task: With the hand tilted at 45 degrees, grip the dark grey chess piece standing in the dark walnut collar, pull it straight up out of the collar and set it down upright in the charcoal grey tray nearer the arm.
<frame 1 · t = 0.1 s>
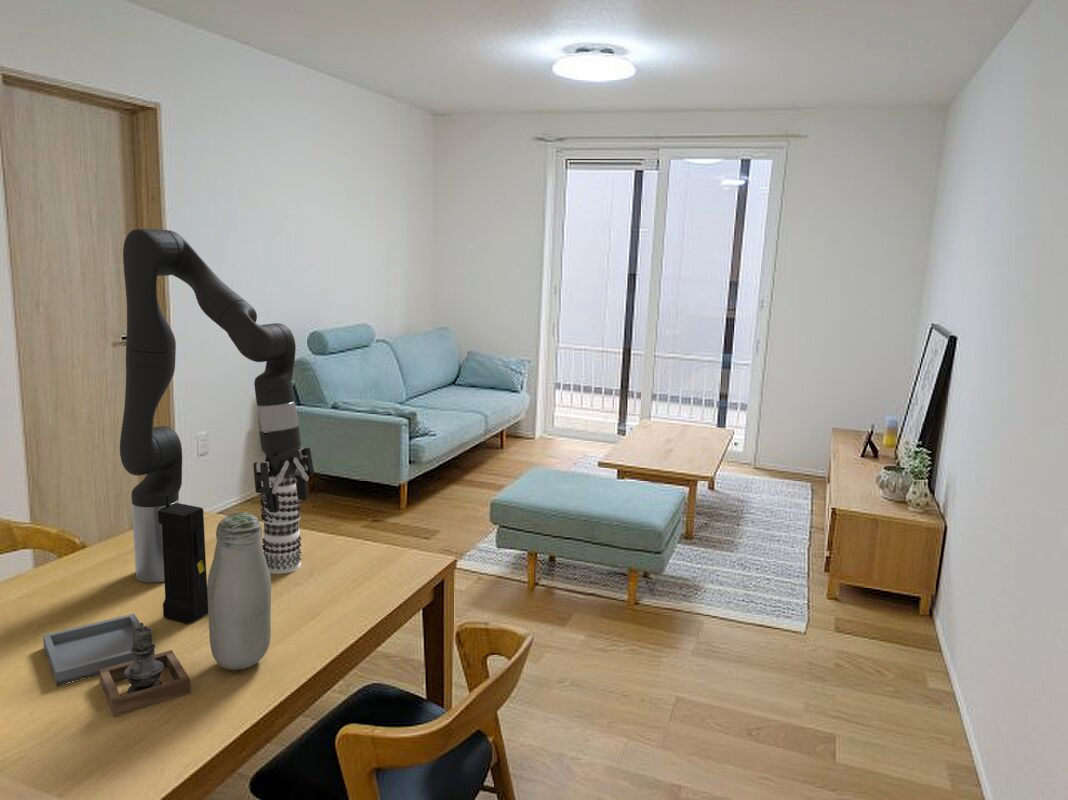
hand: (289, 505, 153), 23 cm above the table, tool pointing down, fingers open, 8 cm apart
grey tray: (99, 653, 138), on the table
decorative candle: (282, 567, 178), on the table
walnut collar: (145, 688, 129), on the table
dark grey chess piece: (145, 689, 129), resting in walnut collar
portable radio: (189, 616, 153), on the table
glass bottle: (241, 664, 137), on the table
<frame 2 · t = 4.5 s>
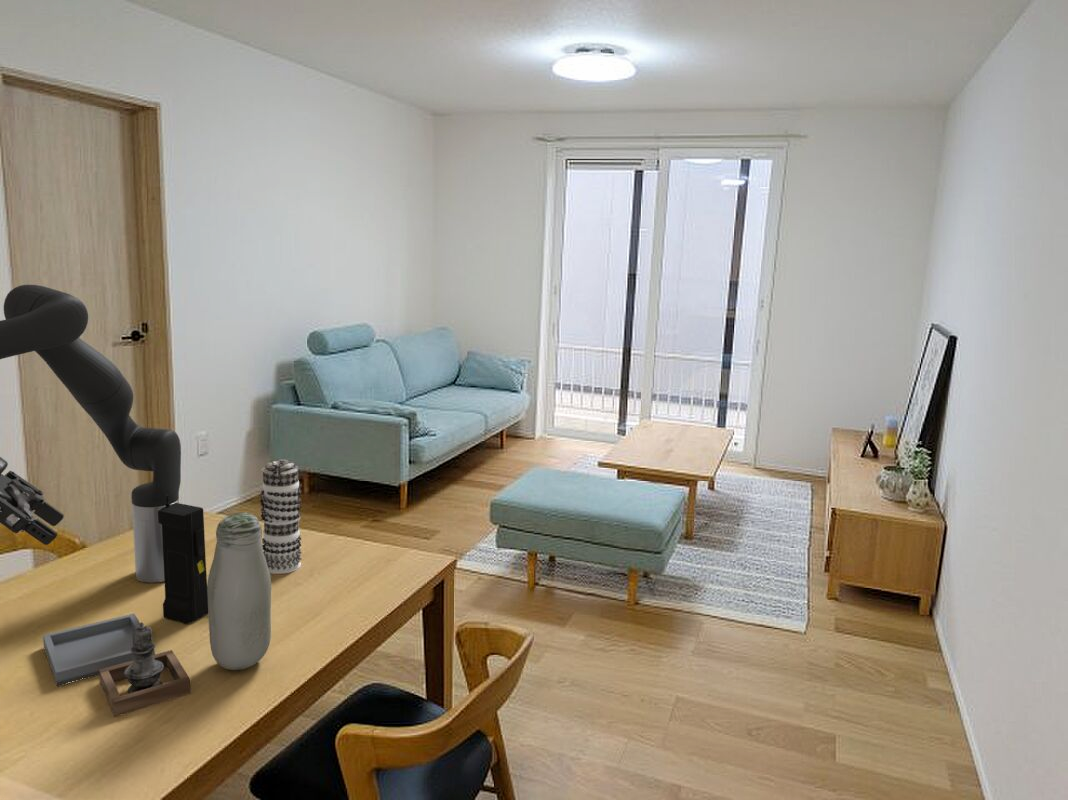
hand: (56, 530, 118), 29 cm above the table, tool tilted 45°, fingers open, 8 cm apart
nothing on the table moved.
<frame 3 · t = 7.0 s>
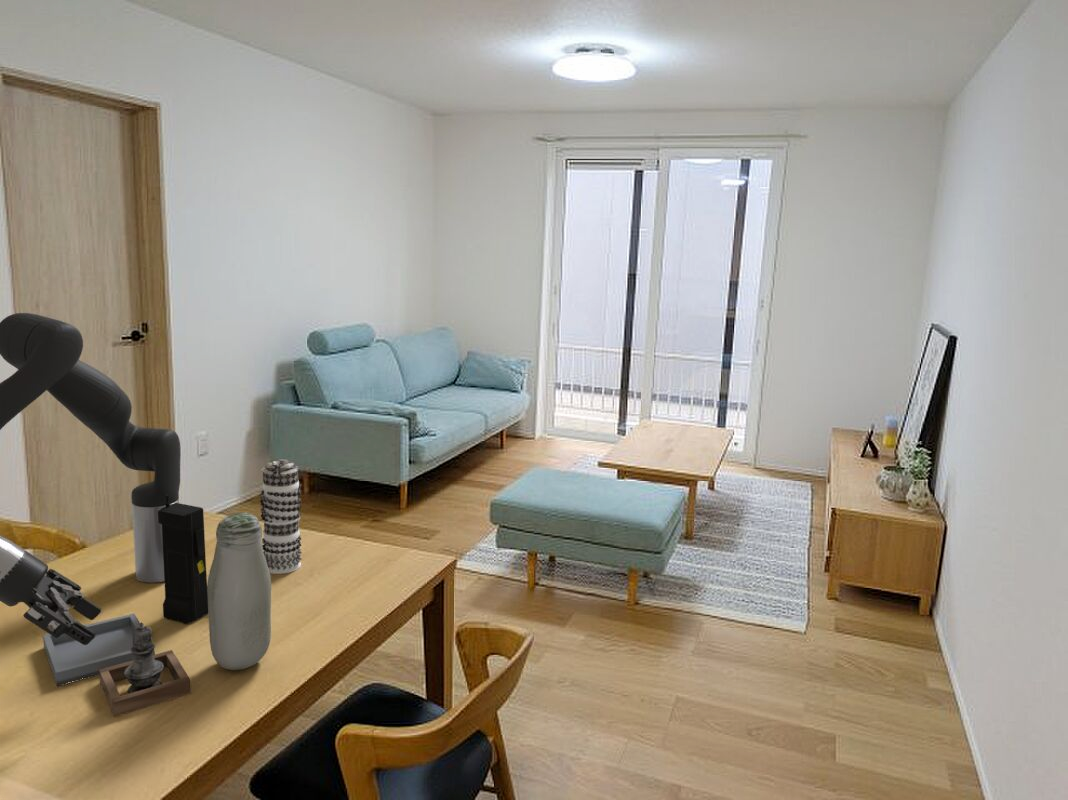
hand: (94, 627, 123), 12 cm above the table, tool tilted 45°, fingers open, 8 cm apart
nothing on the table moved.
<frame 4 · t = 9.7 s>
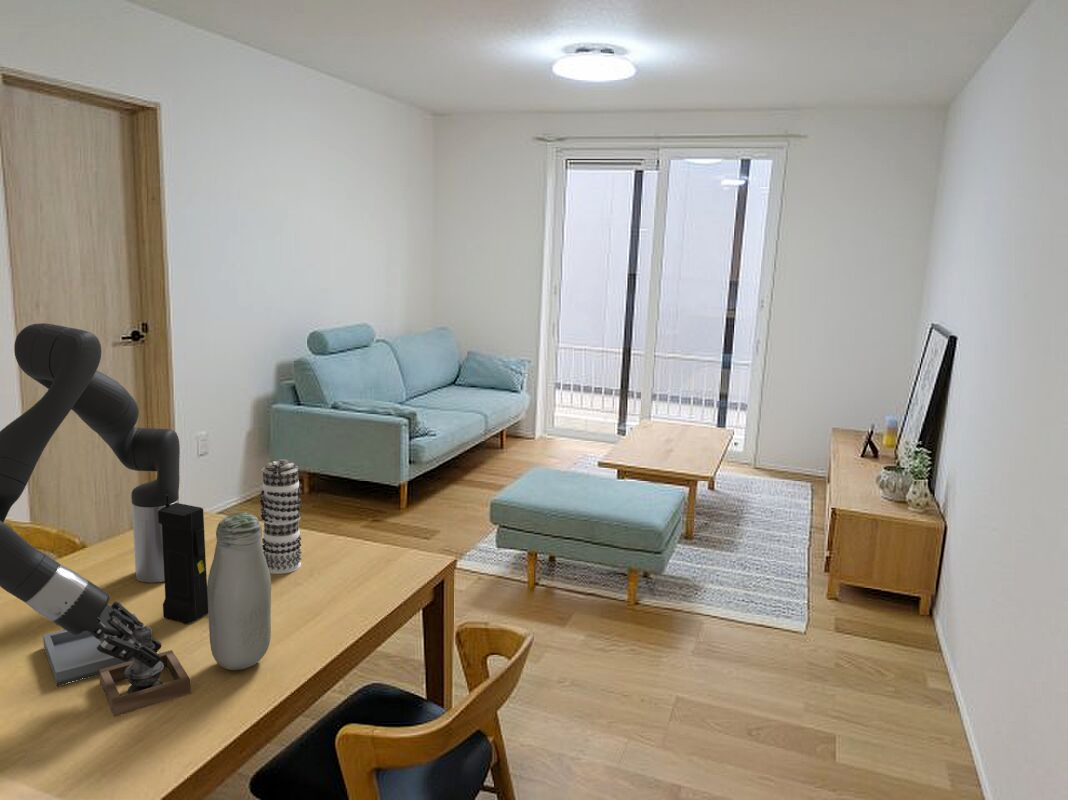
hand: (156, 655, 128), 6 cm above the table, tool tilted 45°, fingers closed on dark grey chess piece, 3 cm apart
dark grey chess piece: (145, 689, 129), resting in walnut collar, touching gripper
everything else where it was.
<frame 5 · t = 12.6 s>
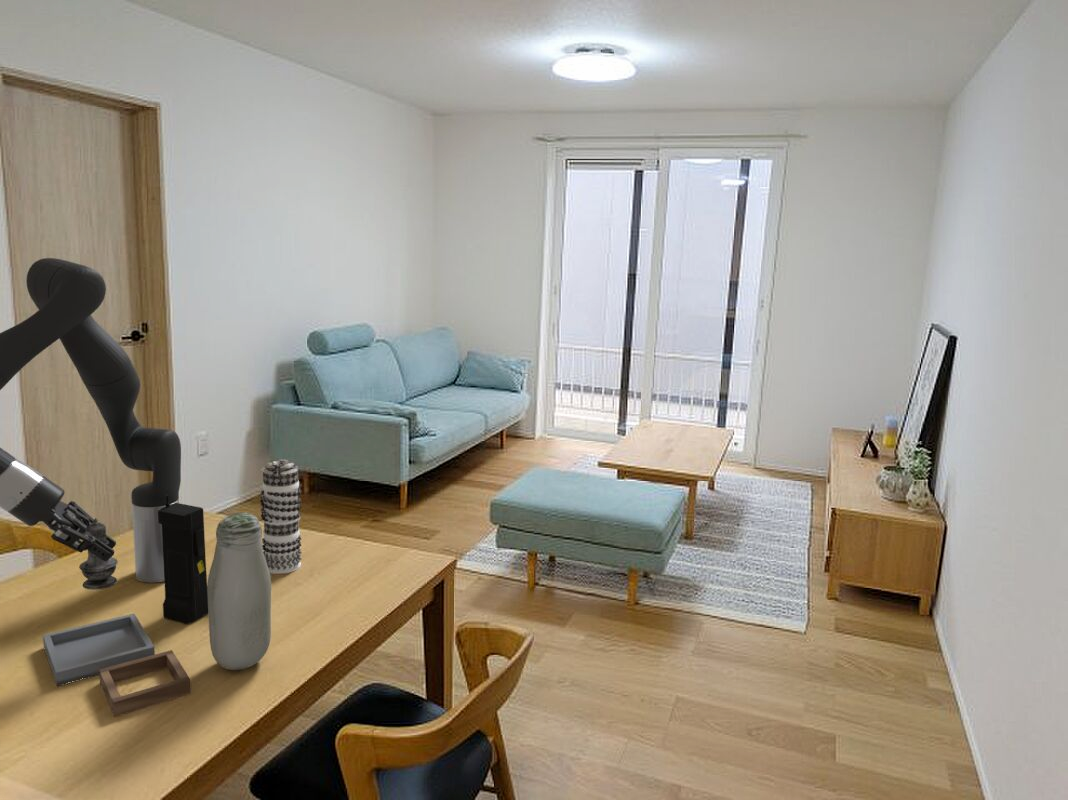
hand: (111, 551, 134), 20 cm above the table, tool tilted 45°, fingers closed on dark grey chess piece, 3 cm apart
dark grey chess piece: (100, 583, 135), point 14 cm above the table, touching gripper
everything else where it was.
when the fingers open (7 cm above the table, at t = 15.5 s): dark grey chess piece stays where it is, resting on grey tray.
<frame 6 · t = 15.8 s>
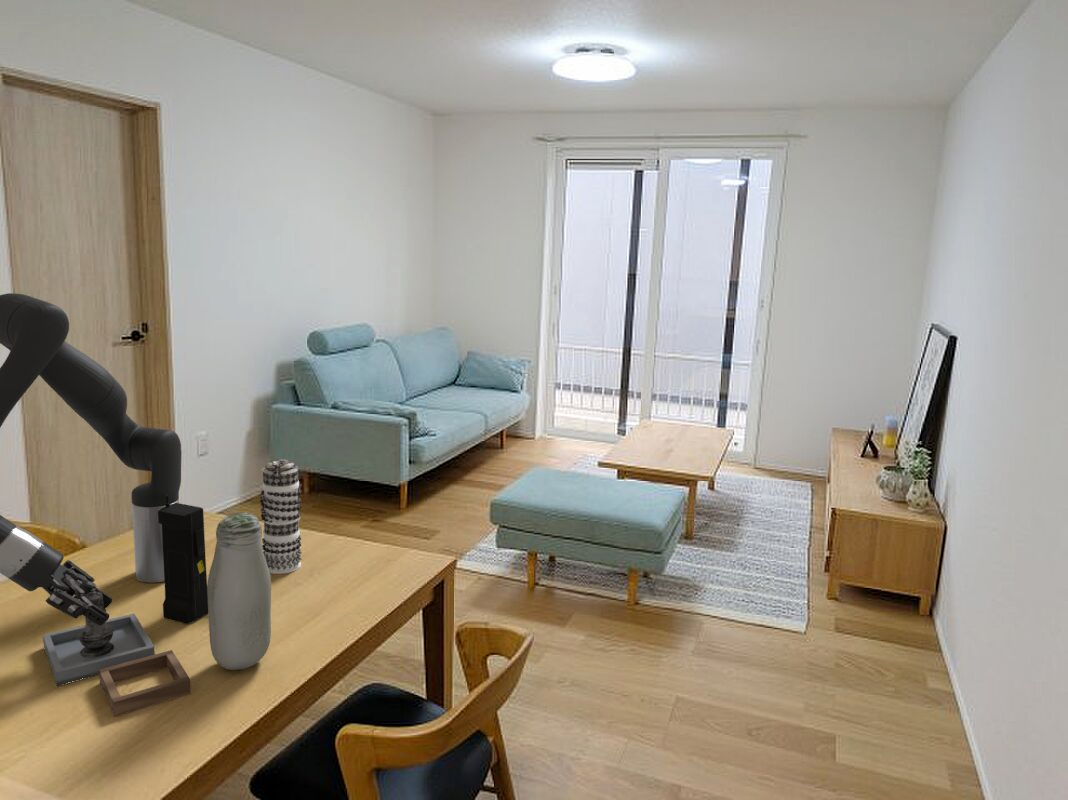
hand: (107, 612, 137), 8 cm above the table, tool tilted 45°, fingers open, 6 cm apart
dark grey chess piece: (97, 650, 138), point 1 cm above the table, touching grey tray
everything else where it was.
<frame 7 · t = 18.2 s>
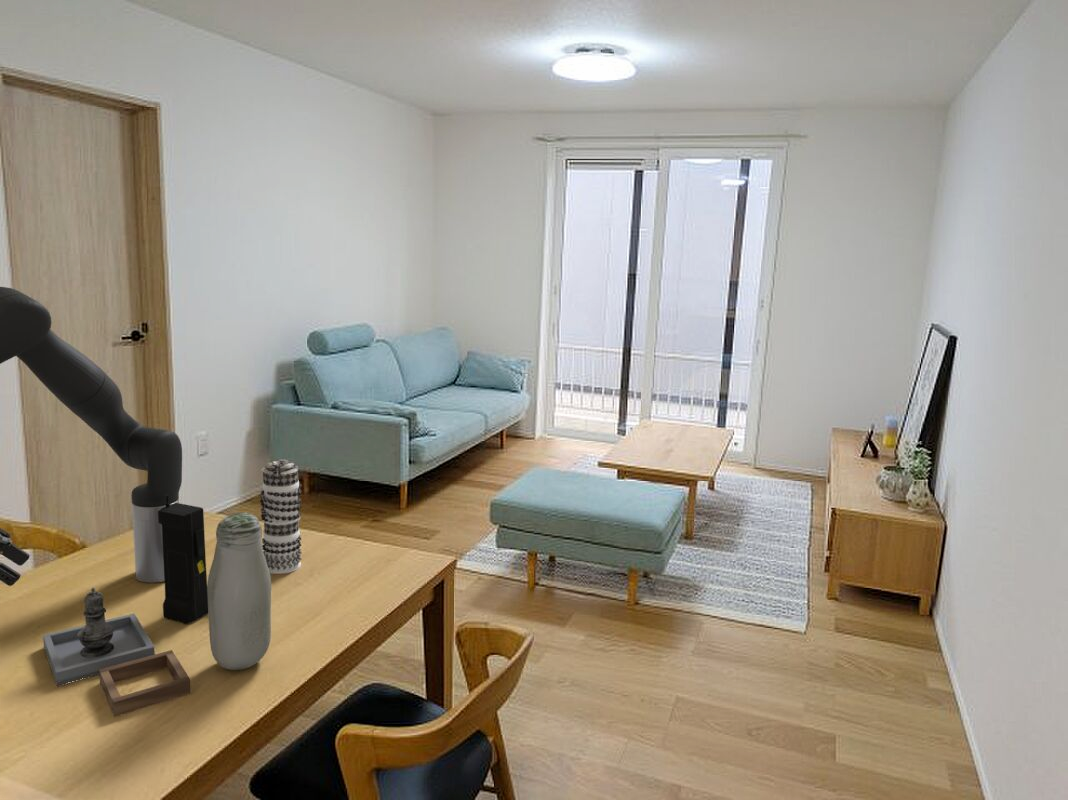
hand: (21, 570, 130), 17 cm above the table, tool tilted 45°, fingers open, 8 cm apart
nothing on the table moved.
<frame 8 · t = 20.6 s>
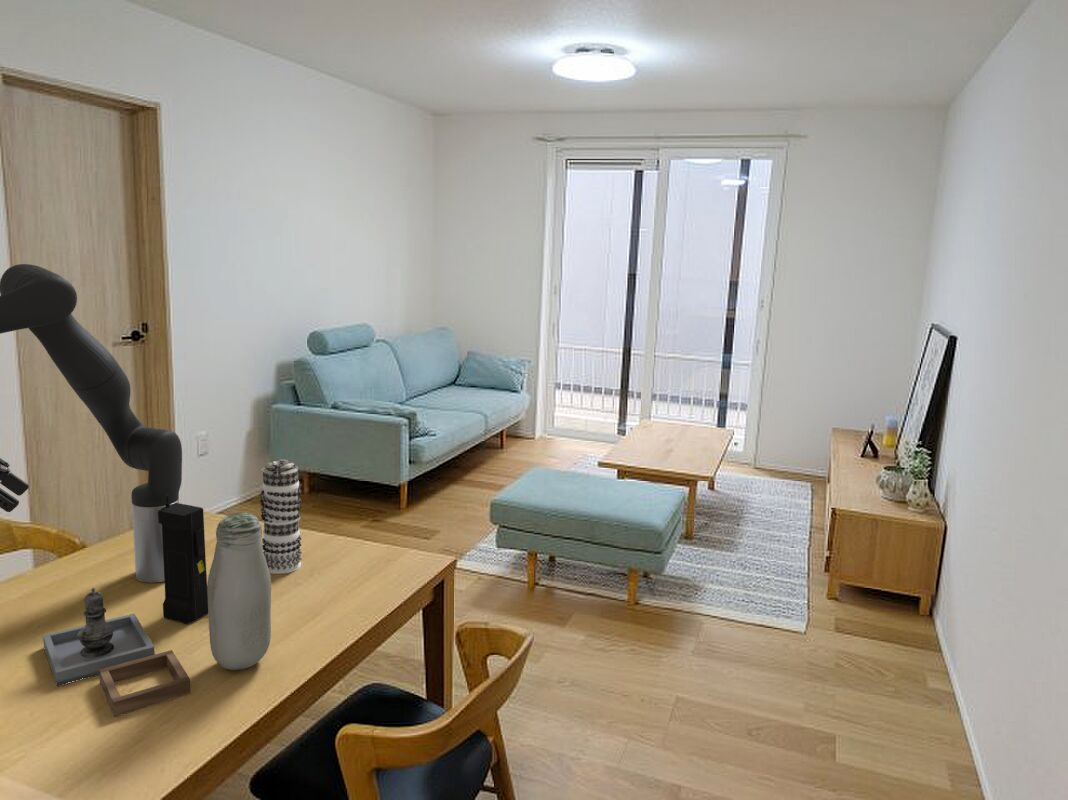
hand: (20, 499, 127), 31 cm above the table, tool tilted 45°, fingers open, 8 cm apart
nothing on the table moved.
at the end: dark grey chess piece inside the target area on the grey tray (0.2 cm from its centre), point 0.6 cm above the grey tray's base; dark grey chess piece tilted 0°; the gripper is holding nothing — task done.
